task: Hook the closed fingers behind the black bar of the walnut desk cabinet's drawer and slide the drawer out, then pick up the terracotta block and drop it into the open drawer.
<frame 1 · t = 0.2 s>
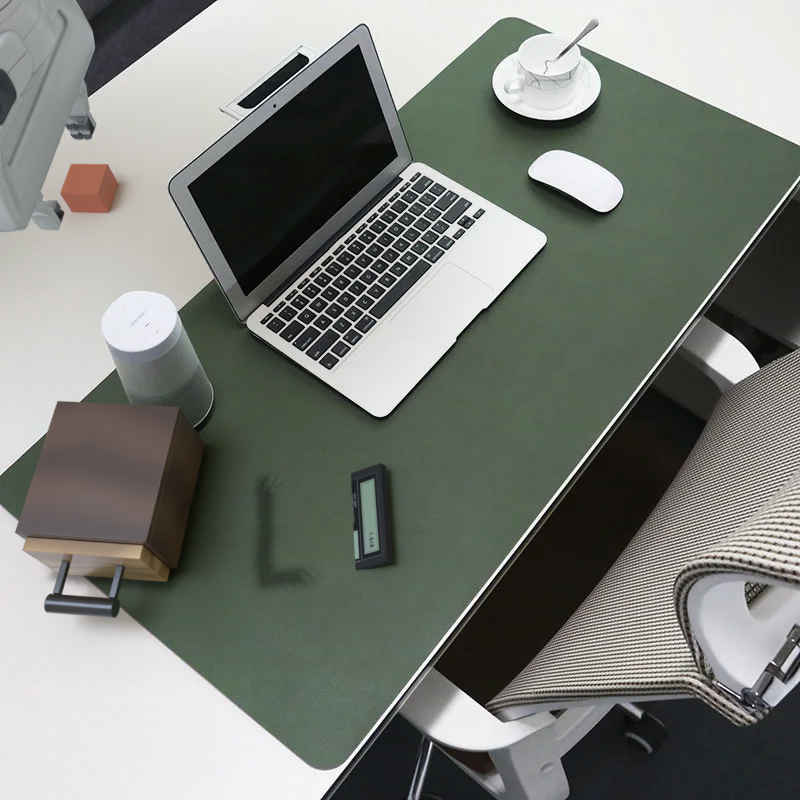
hand: (70, 176, 67), 25 cm above the table, tool pointing down, fingers open, 8 cm apart
cabinet: (137, 505, 80), on the table
block: (99, 205, 99), on the table
calculator: (329, 528, 78), on the table
drawer: (108, 528, 75), point 5 cm above the table, slide at 0.0 cm, touching cabinet
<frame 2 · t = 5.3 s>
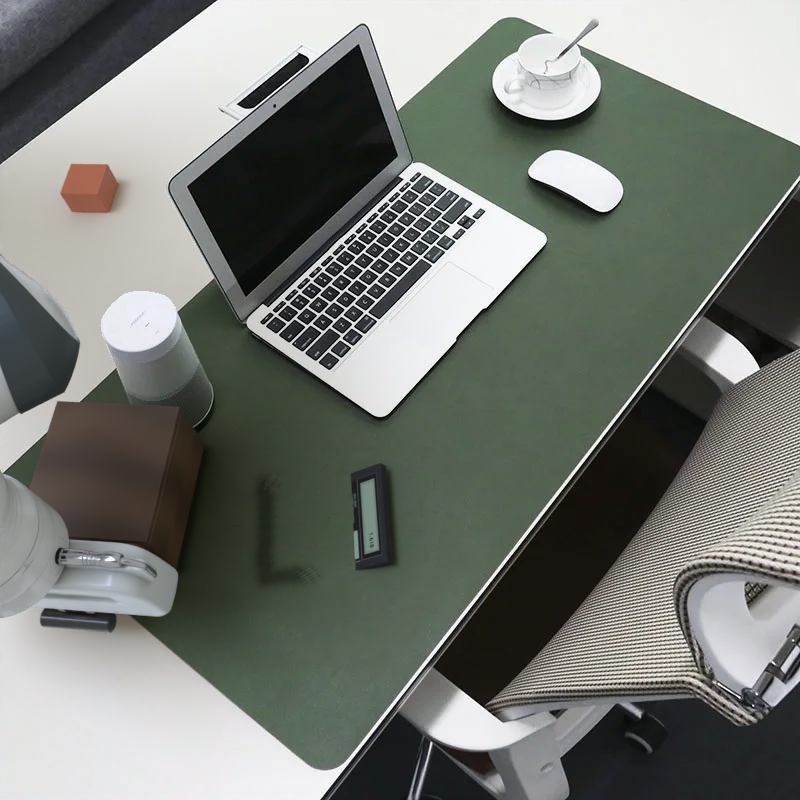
hand: (82, 603, 70), 6 cm above the table, tool pointing down, fingers closed, pressing on drawer
drawer: (104, 541, 74), point 5 cm above the table, slide at 1.2 cm, touching gripper
everything else where it was.
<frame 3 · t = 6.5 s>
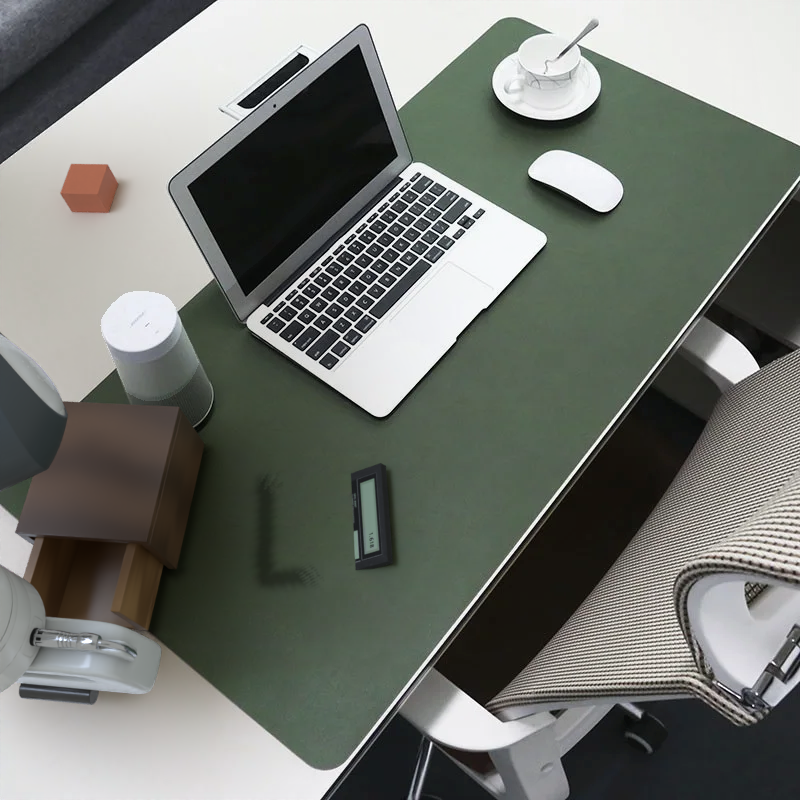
hand: (63, 673, 67), 6 cm above the table, tool pointing down, fingers closed, pressing on drawer
drawer: (87, 605, 71), point 5 cm above the table, slide at 6.9 cm, touching gripper
everything else where it was.
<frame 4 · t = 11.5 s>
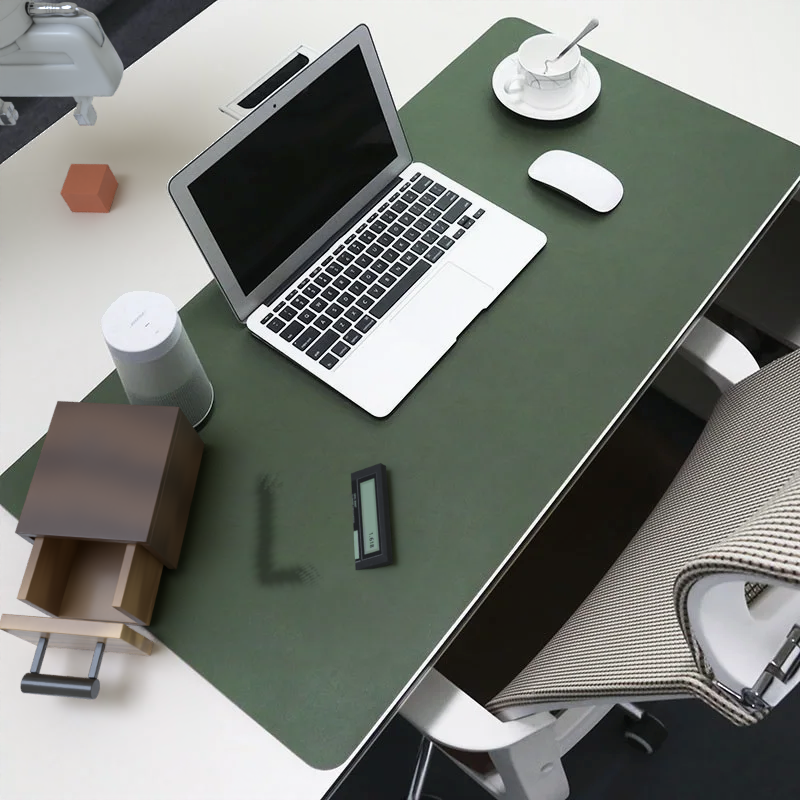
hand: (49, 121, 88), 13 cm above the table, tool pointing down, fingers open, 7 cm apart
drawer: (88, 601, 72), point 5 cm above the table, slide at 6.5 cm
everything else where it was.
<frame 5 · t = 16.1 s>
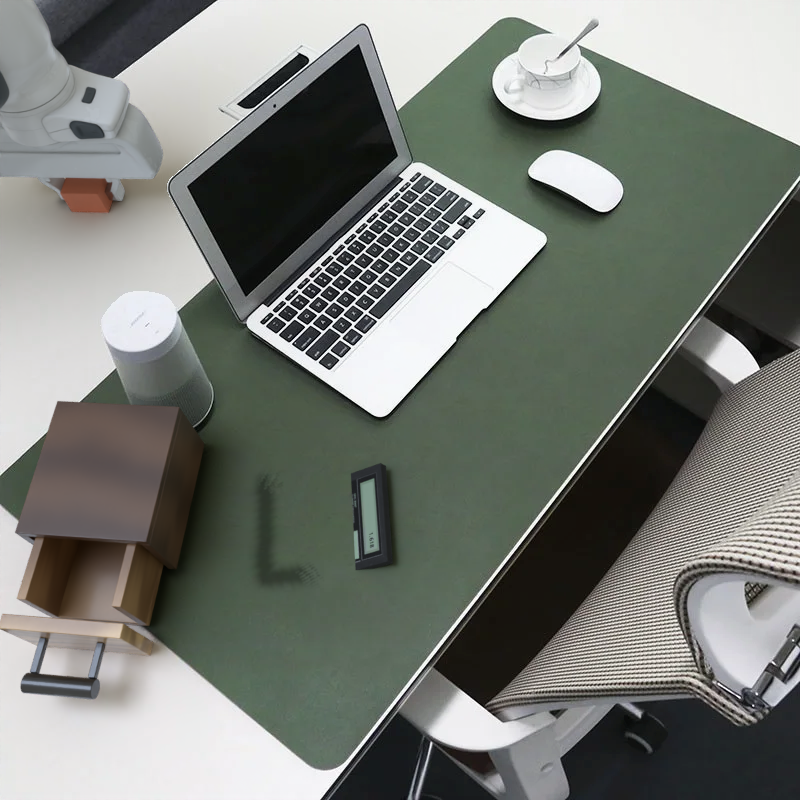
hand: (94, 196, 98), 2 cm above the table, tool pointing down, fingers closed on block, 4 cm apart
block: (99, 205, 99), on the table, touching gripper
everything else where it was.
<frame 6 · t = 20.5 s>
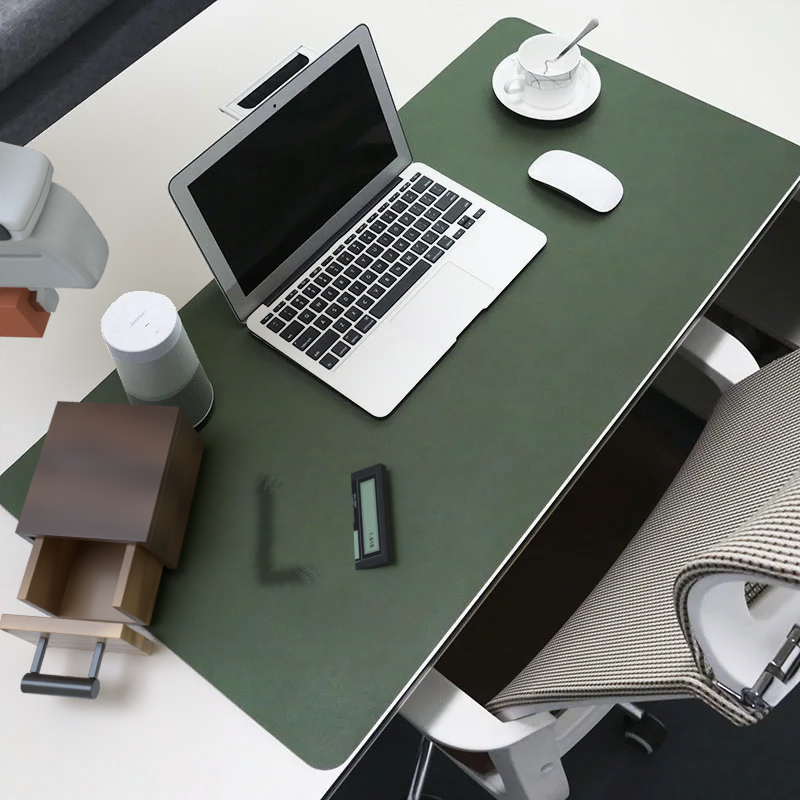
hand: (16, 304, 68), 19 cm above the table, tool pointing down, fingers closed on block, 4 cm apart
block: (25, 314, 70), point 18 cm above the table, touching gripper
everything else where it was.
when the fingers open (9 cm above the table, at t = 25.2 s): block drops 5 cm, resting on drawer.
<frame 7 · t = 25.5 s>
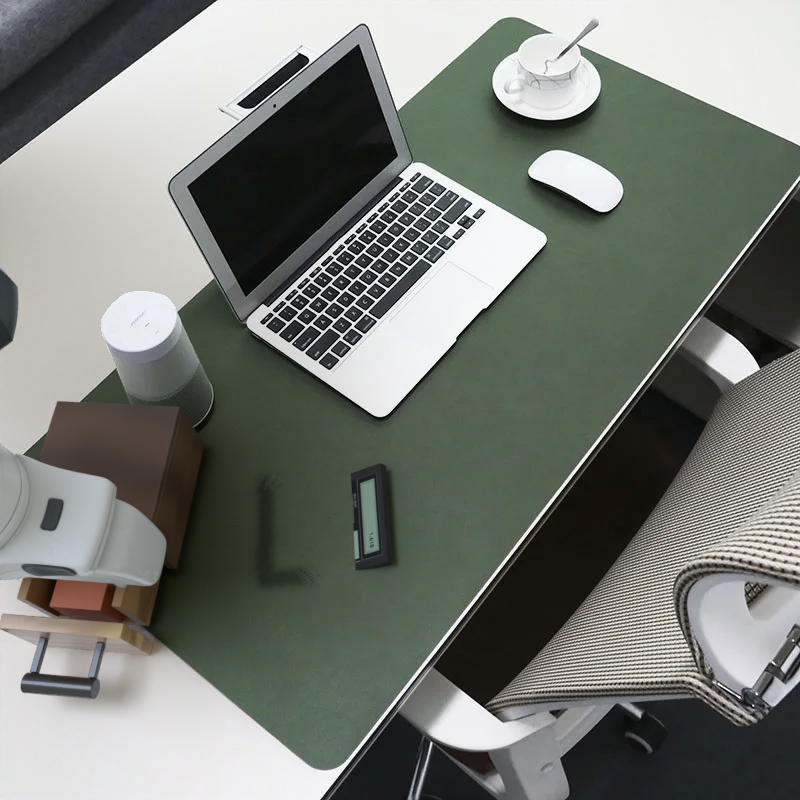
hand: (67, 573, 68), 9 cm above the table, tool pointing down, fingers open, 8 cm apart
block: (103, 596, 74), point 2 cm above the table, touching drawer
drawer: (88, 600, 72), point 5 cm above the table, slide at 6.5 cm, touching block
everything else where it was.
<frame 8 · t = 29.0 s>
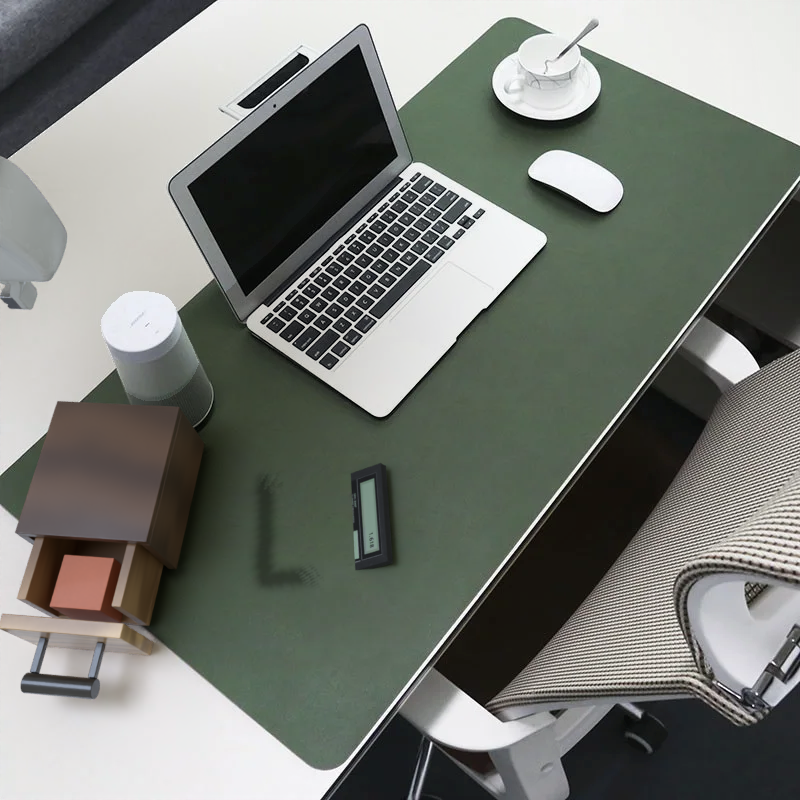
nothing on the table moved.
at the end: drawer slide at 6.5 cm; block inside the target area in the drawer (0.1 cm from its centre), point 2.0 cm above the cabinet's base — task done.
